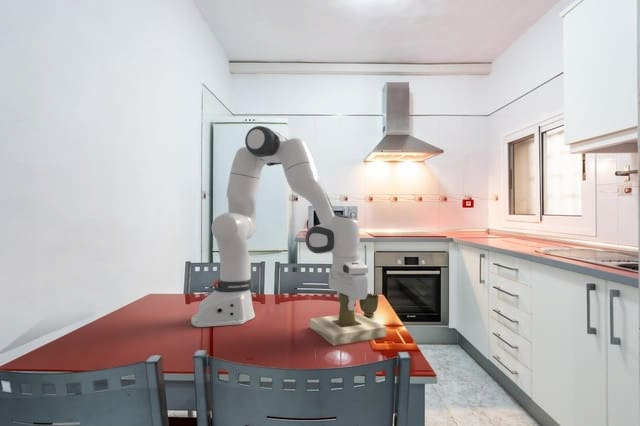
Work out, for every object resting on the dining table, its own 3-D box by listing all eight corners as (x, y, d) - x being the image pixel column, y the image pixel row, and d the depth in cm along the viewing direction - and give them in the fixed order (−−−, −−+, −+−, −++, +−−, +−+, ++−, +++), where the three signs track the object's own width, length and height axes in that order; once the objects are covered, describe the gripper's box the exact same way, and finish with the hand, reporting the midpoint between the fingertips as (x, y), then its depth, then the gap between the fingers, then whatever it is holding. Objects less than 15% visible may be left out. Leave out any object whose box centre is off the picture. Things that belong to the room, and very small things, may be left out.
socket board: (333, 345, 96) (333, 335, 96) (310, 327, 112) (310, 318, 113) (385, 336, 103) (385, 327, 103) (356, 320, 120) (356, 312, 120)
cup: (378, 319, 121) (378, 297, 121) (358, 318, 122) (357, 296, 123) (379, 314, 128) (378, 293, 128) (359, 313, 130) (359, 292, 130)
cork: (344, 331, 104) (344, 296, 104) (334, 326, 109) (333, 292, 109) (360, 328, 107) (359, 293, 107) (349, 323, 112) (348, 290, 112)
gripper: (324, 261, 117) (324, 301, 116) (353, 269, 98) (353, 317, 98) (340, 260, 119) (340, 299, 119) (371, 268, 101) (371, 314, 100)
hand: (346, 307), depth 108 cm, fingers closed on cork, 4 cm apart
